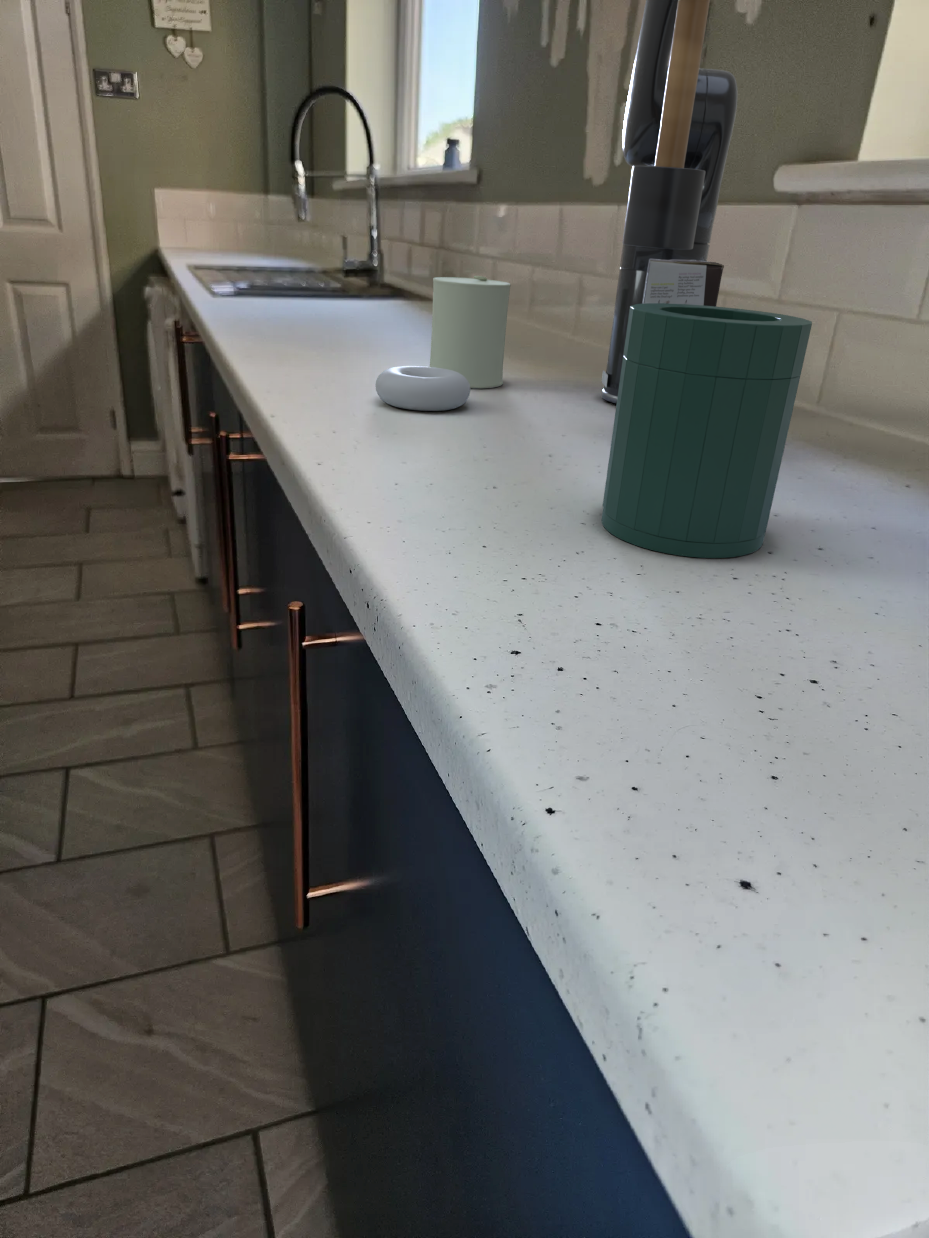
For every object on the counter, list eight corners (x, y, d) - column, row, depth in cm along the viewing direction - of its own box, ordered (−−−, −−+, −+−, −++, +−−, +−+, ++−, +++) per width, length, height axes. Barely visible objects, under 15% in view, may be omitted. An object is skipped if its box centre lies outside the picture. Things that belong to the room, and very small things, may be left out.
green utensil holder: (646, 496, 66) (677, 301, 60) (786, 532, 60) (835, 320, 54) (571, 526, 58) (598, 306, 52) (723, 571, 52) (773, 329, 46)
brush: (642, 243, 66) (689, -88, 57) (704, 249, 63) (763, -98, 54) (609, 243, 62) (654, -111, 53) (673, 249, 59) (731, -122, 51)
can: (512, 381, 109) (521, 278, 104) (488, 392, 101) (496, 281, 96) (444, 372, 112) (450, 271, 107) (415, 382, 104) (420, 274, 99)
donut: (434, 420, 86) (487, 404, 94) (436, 385, 85) (489, 372, 92) (355, 404, 91) (411, 390, 98) (355, 370, 89) (412, 359, 97)
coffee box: (692, 453, 80) (725, 264, 73) (621, 445, 81) (648, 258, 74) (688, 432, 88) (718, 260, 81) (624, 425, 89) (649, 255, 82)
